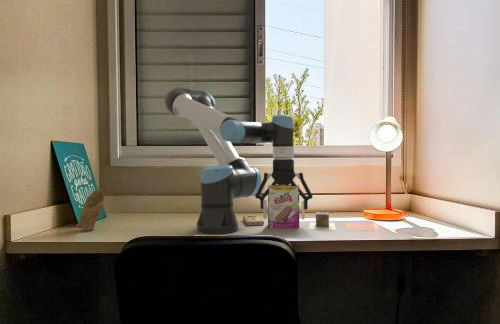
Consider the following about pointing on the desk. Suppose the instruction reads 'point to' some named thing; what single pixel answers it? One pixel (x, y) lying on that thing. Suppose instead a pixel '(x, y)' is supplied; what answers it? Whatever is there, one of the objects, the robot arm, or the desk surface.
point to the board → (350, 227)
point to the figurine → (91, 210)
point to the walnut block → (322, 219)
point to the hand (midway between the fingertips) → (284, 218)
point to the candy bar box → (283, 206)
